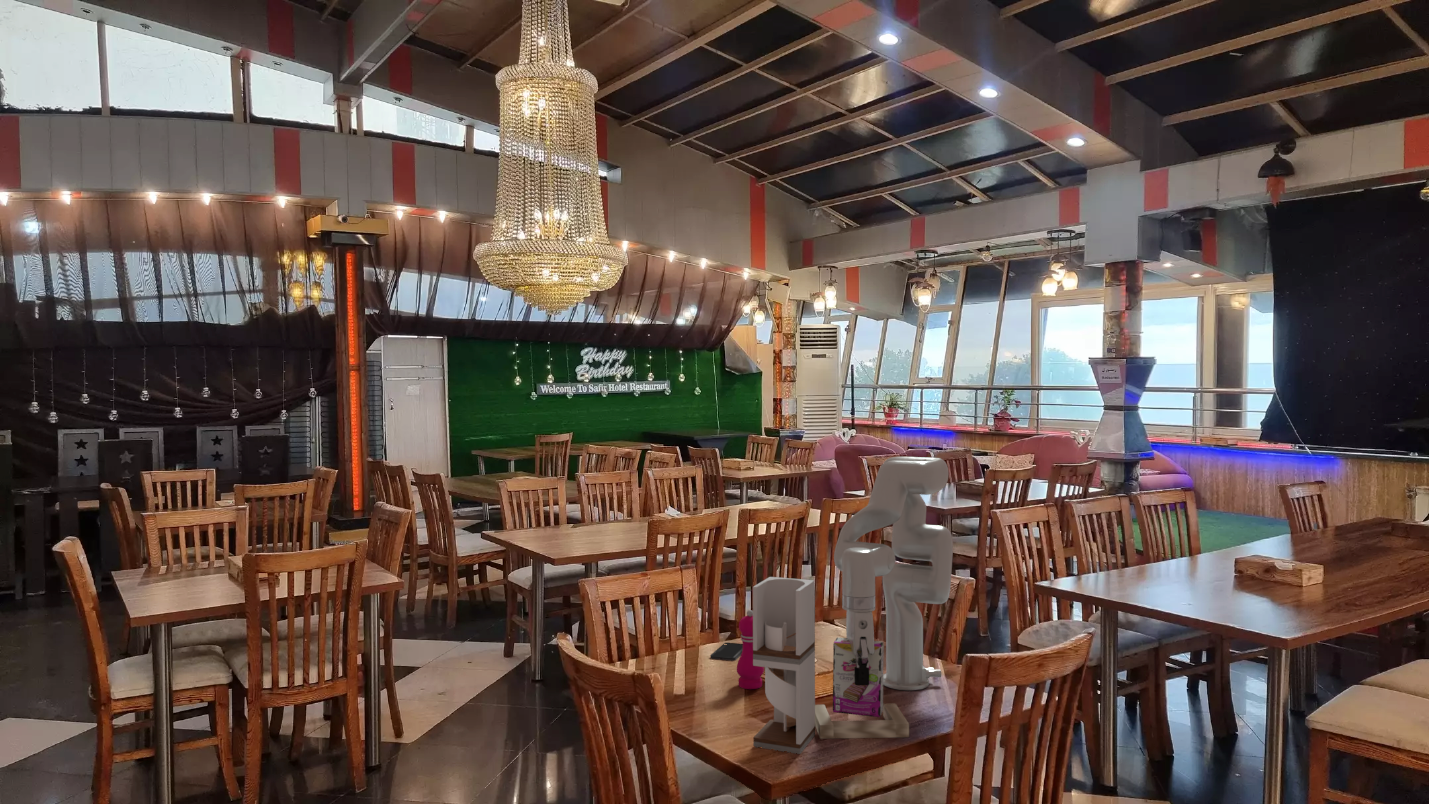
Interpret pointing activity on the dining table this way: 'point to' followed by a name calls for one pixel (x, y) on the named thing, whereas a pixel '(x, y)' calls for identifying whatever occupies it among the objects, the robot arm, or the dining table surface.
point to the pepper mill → (748, 656)
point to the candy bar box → (844, 689)
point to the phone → (728, 652)
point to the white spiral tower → (786, 660)
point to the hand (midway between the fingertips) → (858, 679)
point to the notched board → (862, 725)
